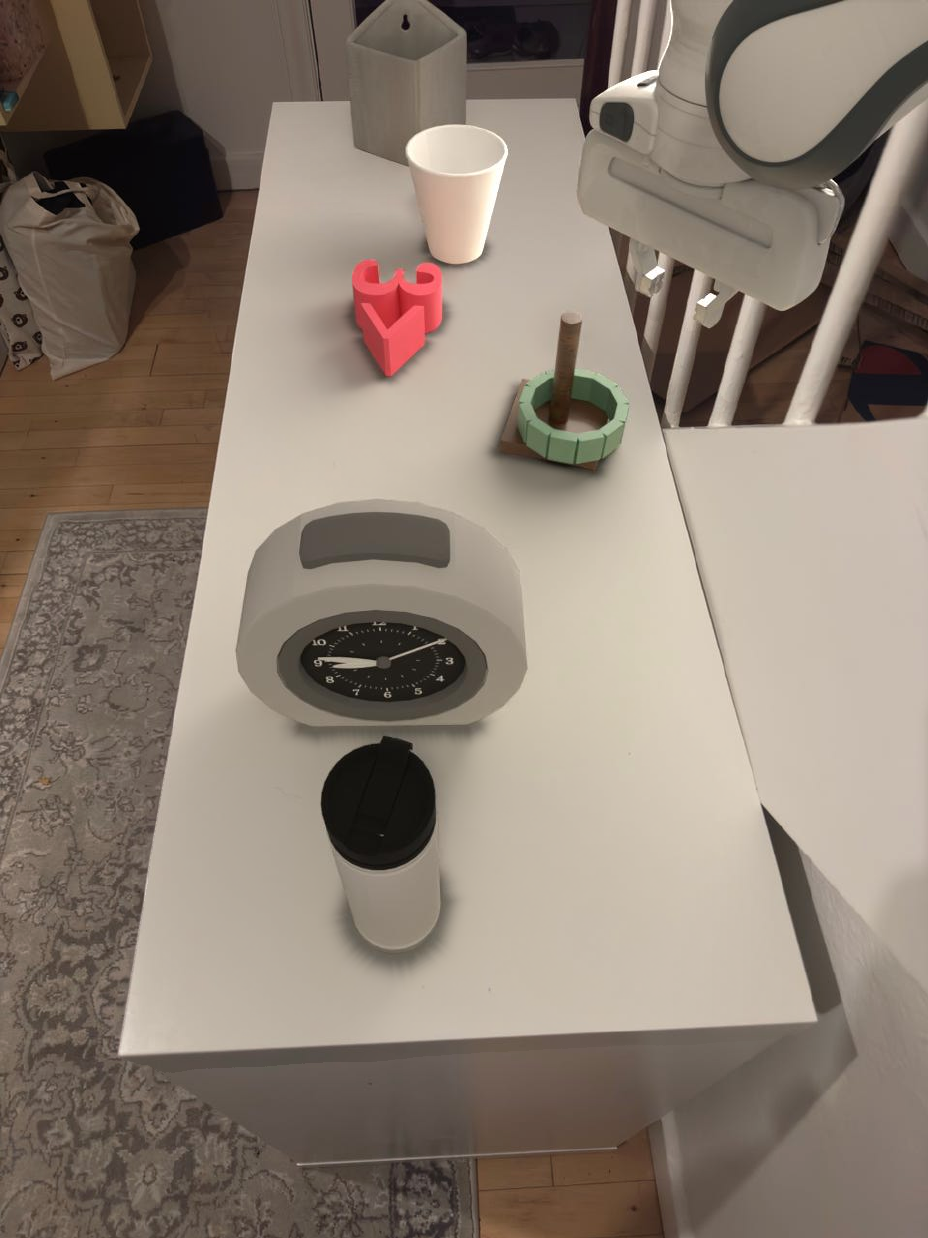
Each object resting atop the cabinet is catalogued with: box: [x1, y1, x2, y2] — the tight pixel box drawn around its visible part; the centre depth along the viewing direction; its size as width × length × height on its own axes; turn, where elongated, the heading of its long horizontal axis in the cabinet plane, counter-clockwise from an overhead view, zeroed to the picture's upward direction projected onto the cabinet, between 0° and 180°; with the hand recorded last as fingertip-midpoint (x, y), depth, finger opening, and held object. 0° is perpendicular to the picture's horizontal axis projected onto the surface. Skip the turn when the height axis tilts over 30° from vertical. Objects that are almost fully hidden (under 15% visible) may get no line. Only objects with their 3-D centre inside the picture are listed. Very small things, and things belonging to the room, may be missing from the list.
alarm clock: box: [235, 498, 528, 727], centre depth 65 cm, size 21×8×20 cm, turn 91°
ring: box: [517, 367, 630, 464], centre depth 88 cm, size 11×11×3 cm
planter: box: [344, 0, 468, 167], centre depth 116 cm, size 16×8×19 cm, turn 101°
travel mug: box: [320, 735, 441, 954], centre depth 54 cm, size 6×7×20 cm
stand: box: [499, 310, 610, 471], centre depth 86 cm, size 10×10×14 cm
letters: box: [351, 259, 443, 377], centre depth 98 cm, size 14×10×5 cm
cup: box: [405, 124, 509, 265], centre depth 105 cm, size 12×12×12 cm
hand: (676, 306), depth 70 cm, fingers open, 4 cm apart
